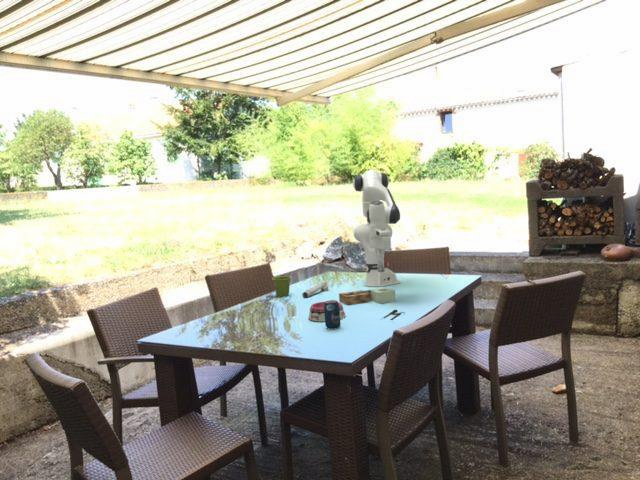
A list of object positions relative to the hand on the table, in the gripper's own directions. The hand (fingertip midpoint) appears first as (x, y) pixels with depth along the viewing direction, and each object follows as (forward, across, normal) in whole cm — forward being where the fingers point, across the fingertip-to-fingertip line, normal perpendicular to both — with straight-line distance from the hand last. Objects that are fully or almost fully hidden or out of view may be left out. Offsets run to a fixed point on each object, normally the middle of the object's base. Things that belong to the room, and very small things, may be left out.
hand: (380, 256), depth 286 cm
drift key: (+24, -9, -5) cm, 26 cm away
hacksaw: (+25, +37, -12) cm, 46 cm away
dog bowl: (+25, +16, -39) cm, 49 cm away
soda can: (+25, +36, -43) cm, 61 cm away
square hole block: (+24, 0, 0) cm, 24 cm away
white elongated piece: (+25, -46, -23) cm, 57 cm away
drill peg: (+8, 0, 0) cm, 8 cm away
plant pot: (+25, -55, -42) cm, 73 cm away
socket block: (+24, -9, -13) cm, 29 cm away
